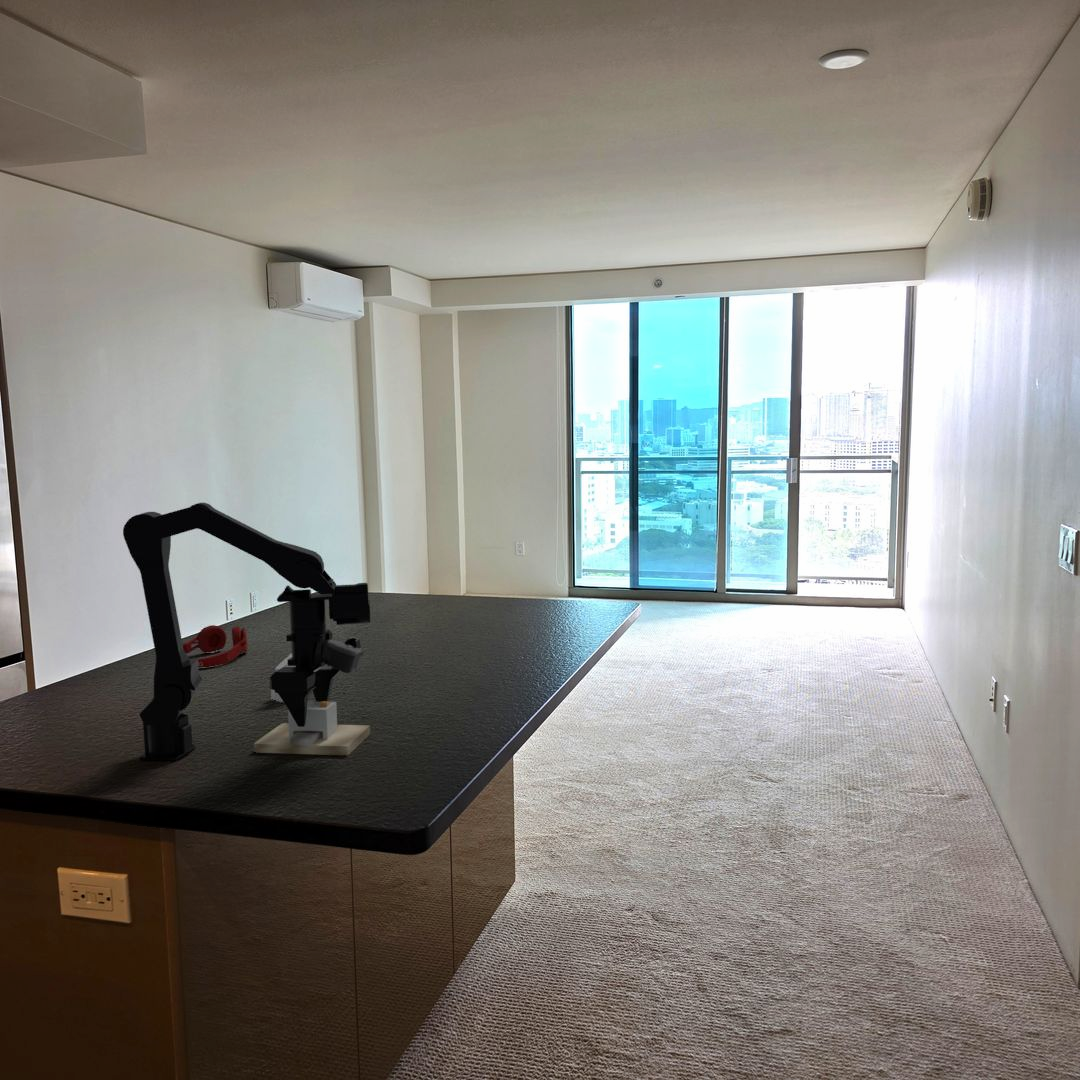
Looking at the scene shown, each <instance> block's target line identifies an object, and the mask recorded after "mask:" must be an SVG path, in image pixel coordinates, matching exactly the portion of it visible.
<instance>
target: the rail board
mask: <svg viewBox="0 0 1080 1080" xmlns="http://www.w3.org/2000/svg"><path fill="white" fill-rule="evenodd" d="M370 735H371V725H370V724H369V725H367V724H366V725H365V724H364V725H363V724H361V725H360V724H337V732H335V733H334V734H333V735H332V736H331V737H330V738H328V739H323V731H299V732H298V733H296V734H295V735H294V736H293V737H291V738H289V726H288V723H287V722H285V723H283V722H282V723H280V724H279V725H278V726H277V727H275V728H273V729H272V730H271V731H269V732H268V733H267V734H265V735H264V736H262V737H261V738H259V739H258V740H257V741H255V742H254V743H253V753H254V752H256V754H257V753H258V754H259V753H260V754H290V755H293V754H294V755H321V756H322V755H324V756H325V755H328V756H349V755H350V754H351V753H352V752H353V751H354V750H355V749H356V748H357V747H358V746H359V745H361V743H362V742H364V741H365V740H366V739H367V737H369V736H370Z"/></svg>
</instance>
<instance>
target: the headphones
mask: <svg viewBox="0 0 1080 1080" xmlns="http://www.w3.org/2000/svg"><path fill="white" fill-rule="evenodd" d="M241 628H242V629H241ZM231 636H232V637H231V639H232V646H233V647H232V648H231V647H230V649H228V650H226V651H224V652H222V653H219V654H217V655H212V656H208V657H203V658H198V667H209V666H215V665H220V664H222V665H224V664H225V665H226V664H227V663H229V662H230V661H233V660H234V659H236V658H237V657H238V656H241V655H240V654H241V653H242V652H243V653H247V652H248V638H247V630H246V627H244V626H243V627H241V626H240V625H238V626H235V625H234V626H233V627H231ZM227 640H228V639H227V634H226V631H225V630H224V629H223V628H222V627H220V626H218V625H215V624H214V625H213V624H211V625H207V626H205V627H203V628H202V629H200V631H199V632H198V634H197V636H196V637H195V638H194V637H193V638H192V639H190V640H189V641H188V642H184V643H182V644H183V648H184V651H185V653H186V654H189V653H191V652H192V651H194V650H196V649H198V648H199V650H201V652H203V653H204V652H211V651H216V650H220V649H222V650H223V648H224V647H225V646H226V643H227ZM194 644H196V645H194ZM192 645H194V646H193V647H192ZM189 660H190V658H189ZM220 666H221V665H220Z"/></svg>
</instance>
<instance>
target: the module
mask: <svg viewBox="0 0 1080 1080" xmlns="http://www.w3.org/2000/svg"><path fill="white" fill-rule="evenodd" d="M337 708H338V707H337V701H329V700H328V701H322V702H316V701H309V700H308V701H307V713H306V722H305V726H304V727H298V726H297V724H296V722H295V720H294V719H293V717H292V715H291V713H290V712H289V710H288V709H287V720H288V721H287V722H288V726H289V738H291V737H293V736H294V735H295V734H296V733H298V732H299V731H323V739H328V738H330V737H331V736H332V735H333V734H334V733H335V732H337V725H338V712H337V710H338V709H337Z"/></svg>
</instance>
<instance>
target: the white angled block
mask: <svg viewBox="0 0 1080 1080" xmlns="http://www.w3.org/2000/svg"><path fill="white" fill-rule="evenodd" d="M290 658H292V652H291V653H289V655H287V657H286V658H285V659H284V660H282V661H281V662H280V663H279V664H278V665H277V666H276V667H274V668H275V670H274V672H276V671H277V670H279V669H281V668H283V667H295V666H288V659H290ZM270 695H271V696H270V697H271V700H272V699H273V700H272V701H274V700H276V701H275V702H278V701H279V702H278V703H281V702H283V700H282V699H281V697H280V696H279V694H278V693H275V691H274V690H272V689H270ZM283 703H284V702H283Z"/></svg>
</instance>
